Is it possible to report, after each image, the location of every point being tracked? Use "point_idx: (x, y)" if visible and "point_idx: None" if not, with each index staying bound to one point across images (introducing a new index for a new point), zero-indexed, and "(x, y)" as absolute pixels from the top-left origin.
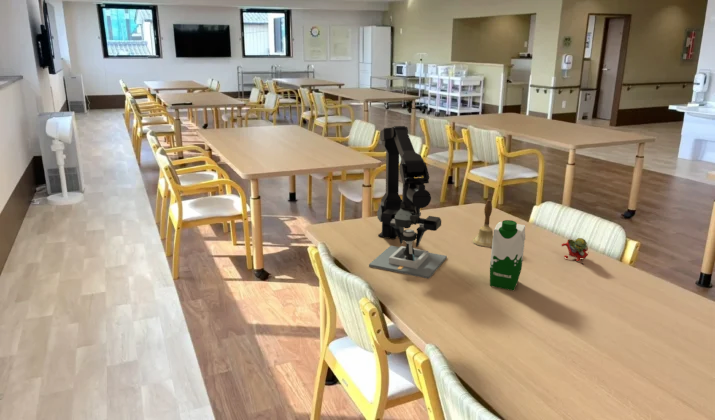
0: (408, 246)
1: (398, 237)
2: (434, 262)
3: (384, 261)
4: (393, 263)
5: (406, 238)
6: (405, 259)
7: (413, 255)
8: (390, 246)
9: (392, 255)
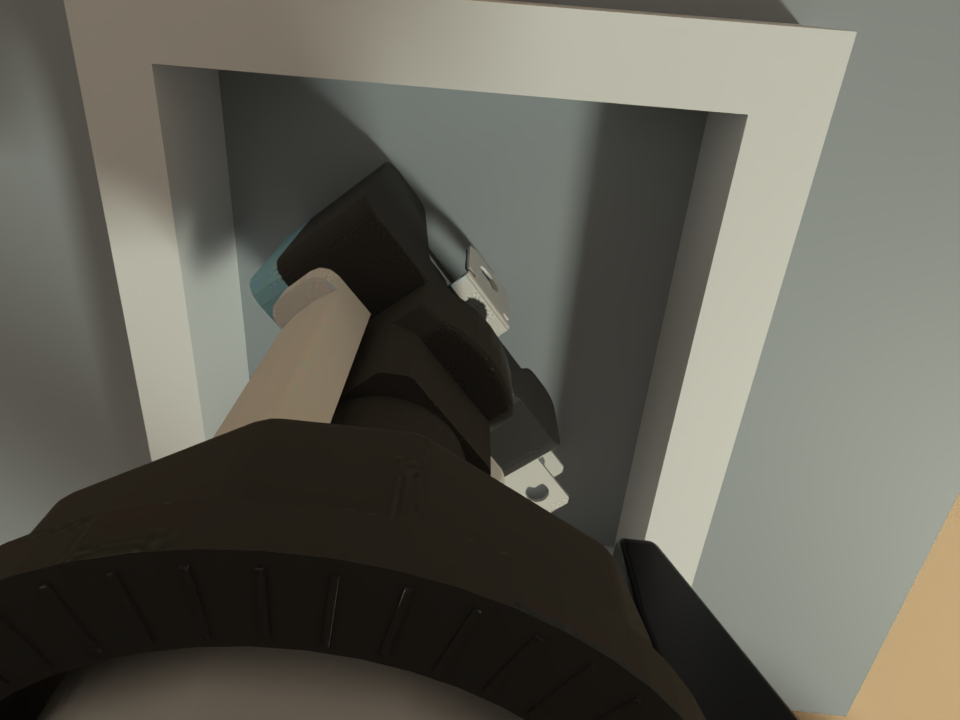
0: (362, 418)
1: (781, 698)
2: (35, 382)
3: (905, 88)
4: (685, 14)
5: (263, 513)
6: (403, 79)
7: (261, 275)
8: (846, 690)
9: (772, 199)
